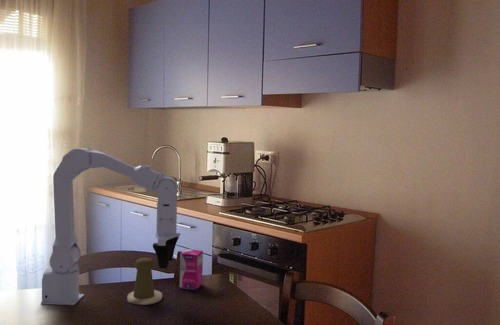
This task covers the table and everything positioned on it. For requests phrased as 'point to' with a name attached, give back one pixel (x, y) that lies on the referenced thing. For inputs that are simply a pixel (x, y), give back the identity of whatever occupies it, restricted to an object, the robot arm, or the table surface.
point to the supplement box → (191, 269)
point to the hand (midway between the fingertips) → (165, 264)
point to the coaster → (154, 299)
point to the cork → (144, 279)
